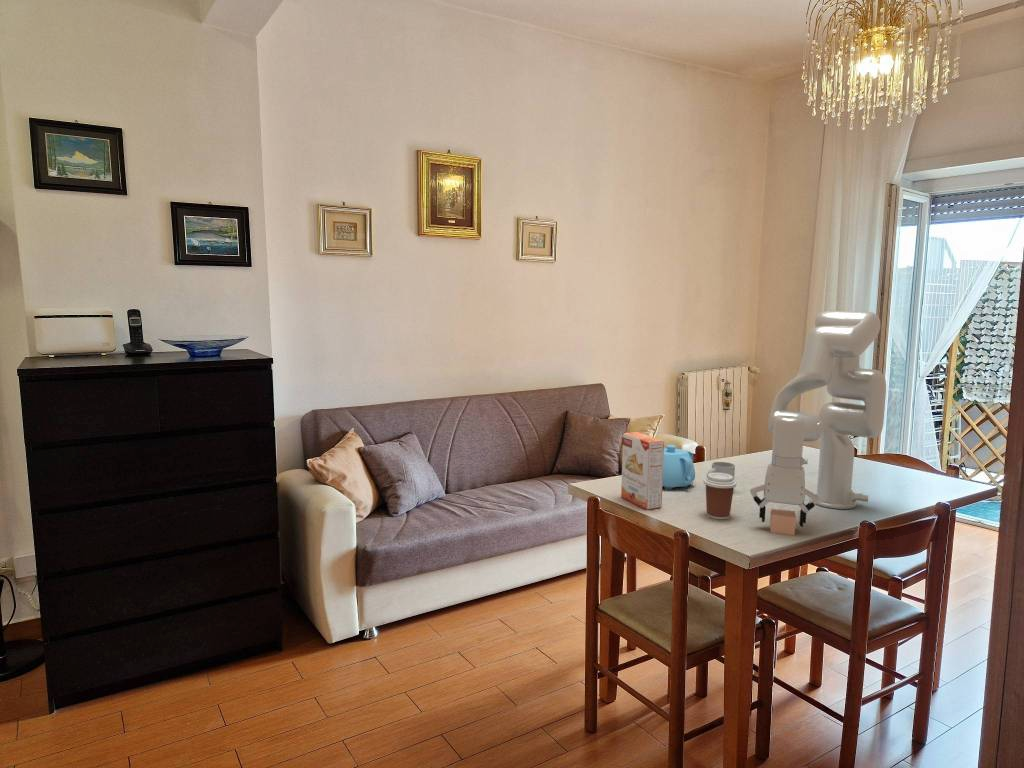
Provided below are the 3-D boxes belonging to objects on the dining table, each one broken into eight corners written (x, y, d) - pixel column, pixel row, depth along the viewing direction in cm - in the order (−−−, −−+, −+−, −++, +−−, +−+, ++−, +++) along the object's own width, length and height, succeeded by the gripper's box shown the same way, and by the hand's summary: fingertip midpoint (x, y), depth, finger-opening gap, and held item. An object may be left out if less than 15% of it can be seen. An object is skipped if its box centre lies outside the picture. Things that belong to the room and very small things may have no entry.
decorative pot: (650, 476, 235) (652, 438, 233) (697, 481, 228) (699, 442, 227) (640, 488, 220) (641, 447, 218) (689, 494, 214) (691, 452, 212)
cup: (738, 492, 216) (739, 466, 214) (713, 496, 212) (715, 468, 211) (723, 487, 222) (724, 461, 221) (699, 489, 218) (700, 463, 217)
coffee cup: (701, 509, 198) (703, 470, 196) (733, 512, 195) (736, 473, 194) (701, 519, 189) (703, 478, 188) (735, 522, 187) (737, 481, 185)
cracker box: (619, 497, 209) (622, 432, 206) (635, 495, 211) (638, 431, 209) (645, 510, 196) (648, 441, 193) (662, 508, 198) (665, 440, 196)
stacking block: (793, 528, 183) (794, 511, 182) (794, 535, 177) (795, 517, 177) (770, 525, 185) (771, 508, 184) (770, 532, 179) (771, 514, 179)
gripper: (820, 461, 179) (815, 523, 181) (752, 455, 185) (748, 515, 187) (823, 468, 172) (817, 531, 174) (752, 461, 178) (748, 523, 180)
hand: (781, 523), depth 181 cm, fingers open, 9 cm apart
